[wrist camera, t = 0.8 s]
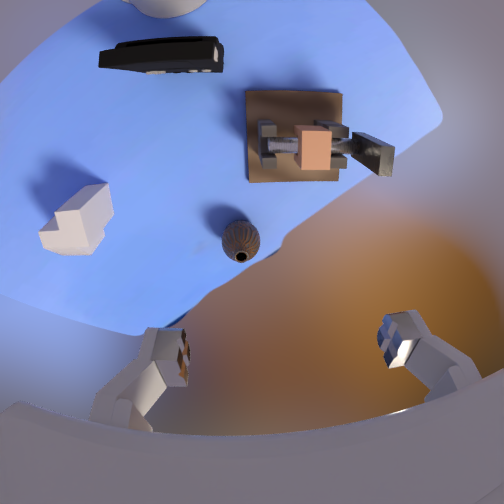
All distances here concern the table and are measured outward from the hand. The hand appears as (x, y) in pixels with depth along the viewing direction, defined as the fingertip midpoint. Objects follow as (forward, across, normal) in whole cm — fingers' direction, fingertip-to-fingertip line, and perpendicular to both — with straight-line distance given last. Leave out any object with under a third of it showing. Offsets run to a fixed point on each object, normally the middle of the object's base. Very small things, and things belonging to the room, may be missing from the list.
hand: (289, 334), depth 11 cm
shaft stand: (+40, -8, -1) cm, 41 cm away
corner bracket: (+41, +32, +11) cm, 53 cm away
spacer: (+34, -8, -1) cm, 35 cm away
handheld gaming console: (+40, +10, -15) cm, 44 cm away
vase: (+41, +2, +17) cm, 44 cm away
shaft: (+34, -10, -1) cm, 36 cm away
